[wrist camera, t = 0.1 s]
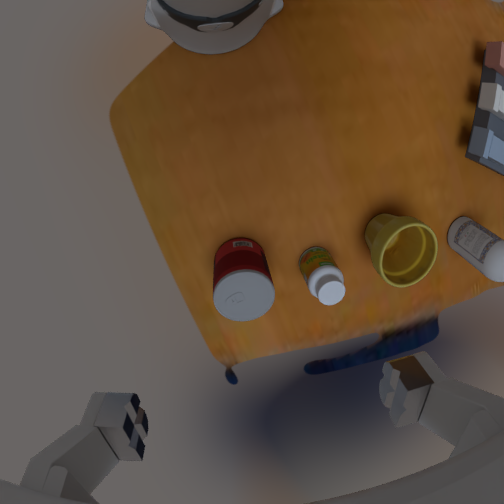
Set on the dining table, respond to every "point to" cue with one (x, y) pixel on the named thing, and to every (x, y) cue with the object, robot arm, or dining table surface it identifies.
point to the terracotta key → (495, 56)
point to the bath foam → (478, 247)
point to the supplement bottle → (322, 275)
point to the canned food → (242, 281)
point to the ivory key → (492, 99)
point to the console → (488, 119)
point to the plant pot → (401, 248)
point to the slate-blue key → (487, 145)
